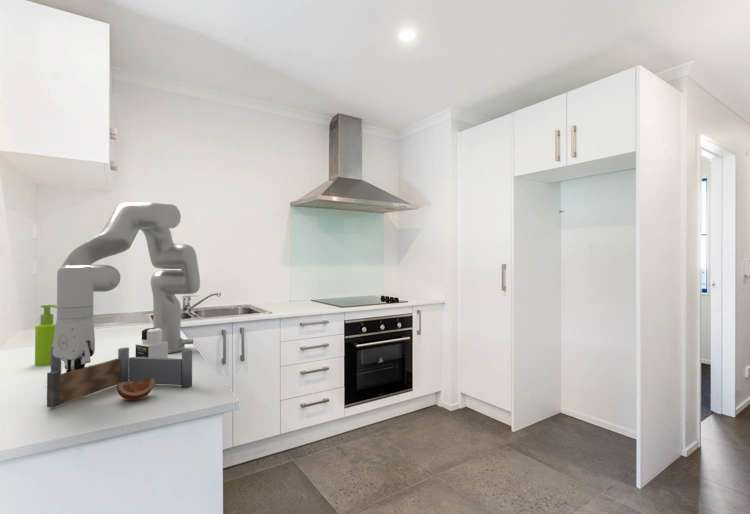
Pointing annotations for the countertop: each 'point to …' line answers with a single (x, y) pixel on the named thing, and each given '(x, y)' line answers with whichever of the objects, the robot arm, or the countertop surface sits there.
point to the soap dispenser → (44, 337)
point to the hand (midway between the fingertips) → (74, 384)
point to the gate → (81, 382)
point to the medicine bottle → (152, 344)
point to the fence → (148, 368)
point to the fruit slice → (135, 388)
